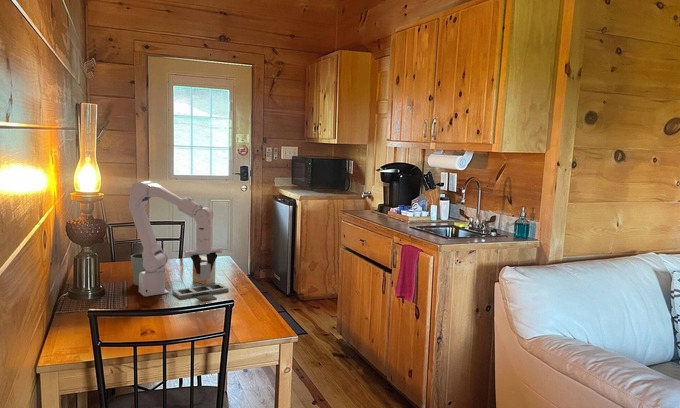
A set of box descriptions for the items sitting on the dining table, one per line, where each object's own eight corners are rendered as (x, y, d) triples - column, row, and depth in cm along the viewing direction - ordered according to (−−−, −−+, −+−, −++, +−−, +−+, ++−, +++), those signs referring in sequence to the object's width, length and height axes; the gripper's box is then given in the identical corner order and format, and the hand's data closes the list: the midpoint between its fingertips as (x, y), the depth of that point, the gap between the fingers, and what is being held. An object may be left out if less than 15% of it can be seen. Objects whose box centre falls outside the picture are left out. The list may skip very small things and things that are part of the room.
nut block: (200, 280, 194) (200, 265, 193) (196, 278, 197) (196, 263, 196) (210, 279, 196) (210, 264, 195) (206, 276, 199) (206, 261, 198)
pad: (201, 301, 189) (201, 300, 189) (195, 297, 194) (195, 296, 194) (216, 299, 193) (216, 298, 193) (210, 295, 197) (210, 294, 197)
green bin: (162, 282, 212) (162, 254, 211) (143, 287, 203) (143, 258, 202) (144, 278, 216) (144, 251, 215) (125, 284, 207) (125, 255, 206)
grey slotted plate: (179, 299, 191) (179, 295, 191) (172, 293, 197) (172, 290, 197) (228, 291, 203) (228, 288, 203) (220, 286, 209) (220, 283, 209)
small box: (192, 281, 215) (192, 257, 213) (201, 278, 220) (201, 255, 218) (206, 284, 211) (206, 260, 210) (215, 281, 216) (215, 257, 215)
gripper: (189, 242, 187) (189, 277, 188) (225, 238, 196) (225, 272, 197) (182, 238, 192) (182, 273, 194) (218, 235, 201) (217, 268, 203)
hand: (203, 272), depth 196 cm, fingers closed on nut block, 4 cm apart
